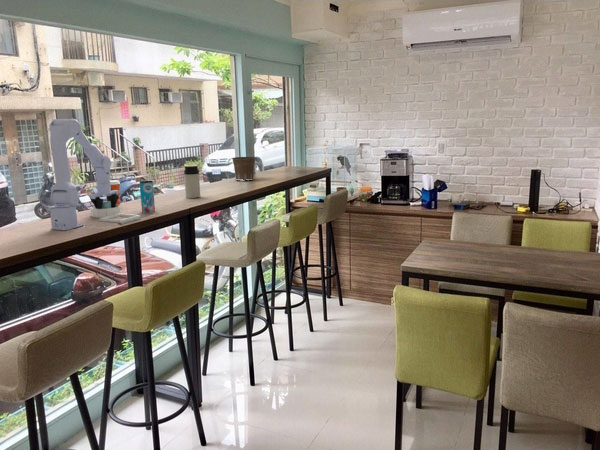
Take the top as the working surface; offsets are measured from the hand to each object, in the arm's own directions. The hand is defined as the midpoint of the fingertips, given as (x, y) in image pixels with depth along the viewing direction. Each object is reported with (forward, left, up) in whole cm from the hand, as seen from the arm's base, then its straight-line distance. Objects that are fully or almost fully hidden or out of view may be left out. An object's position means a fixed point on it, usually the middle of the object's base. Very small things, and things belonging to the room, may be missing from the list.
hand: (106, 212), depth 230 cm
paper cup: (+16, +11, -2) cm, 20 cm away
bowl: (0, 0, -2) cm, 2 cm away
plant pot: (+135, +7, -2) cm, 135 cm away
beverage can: (+13, -13, -2) cm, 19 cm away
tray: (-6, -14, -2) cm, 15 cm away
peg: (0, 0, -1) cm, 1 cm away
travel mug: (+60, -4, -2) cm, 60 cm away
